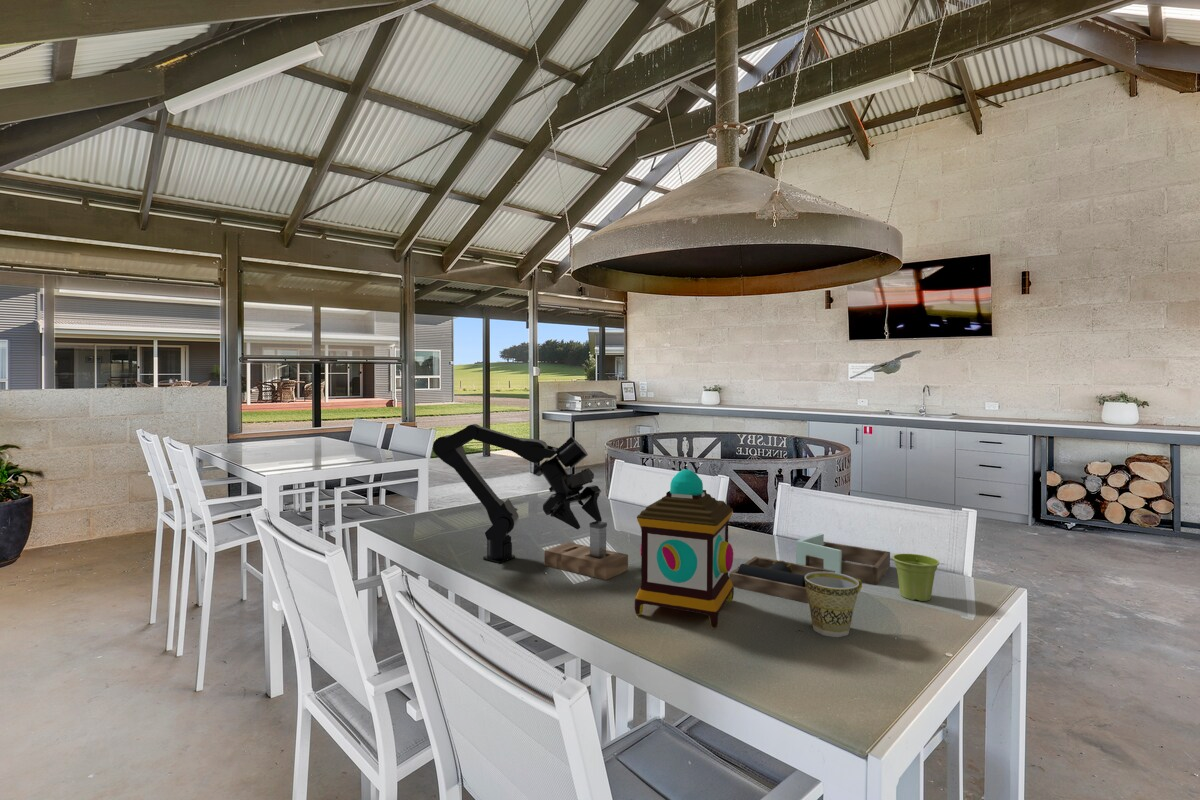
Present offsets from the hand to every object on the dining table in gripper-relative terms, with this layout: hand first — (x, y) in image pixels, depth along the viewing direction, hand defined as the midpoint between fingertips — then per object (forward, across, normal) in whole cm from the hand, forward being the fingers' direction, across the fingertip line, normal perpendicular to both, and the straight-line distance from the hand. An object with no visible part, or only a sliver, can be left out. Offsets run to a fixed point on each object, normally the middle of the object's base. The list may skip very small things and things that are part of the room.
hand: (590, 525), depth 150 cm
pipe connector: (+39, +17, -23) cm, 48 cm away
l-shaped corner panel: (+44, +38, -27) cm, 64 cm away
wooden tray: (+39, +19, -24) cm, 49 cm away
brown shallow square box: (+46, +41, -31) cm, 69 cm away
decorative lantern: (+31, -8, -15) cm, 36 cm away
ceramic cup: (+52, 0, -36) cm, 63 cm away
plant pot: (+58, +29, -42) cm, 78 cm away
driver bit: (+10, 0, +6) cm, 12 cm away
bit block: (+7, 0, +9) cm, 12 cm away
